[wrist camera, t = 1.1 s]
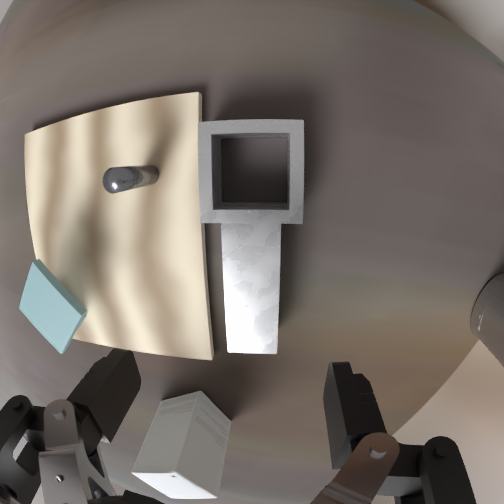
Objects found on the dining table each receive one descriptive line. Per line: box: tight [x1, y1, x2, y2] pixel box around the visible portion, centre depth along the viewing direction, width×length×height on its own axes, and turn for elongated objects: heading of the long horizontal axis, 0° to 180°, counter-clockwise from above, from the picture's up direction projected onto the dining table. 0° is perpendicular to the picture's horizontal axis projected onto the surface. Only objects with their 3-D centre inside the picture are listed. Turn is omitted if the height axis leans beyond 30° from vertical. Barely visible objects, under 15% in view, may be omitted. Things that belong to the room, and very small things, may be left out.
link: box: [198, 119, 304, 354], centre depth 23 cm, size 19×8×4 cm, turn 0°
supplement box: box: [131, 391, 231, 499], centre depth 27 cm, size 7×7×13 cm
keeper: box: [19, 259, 87, 354], centre depth 25 cm, size 9×7×7 cm
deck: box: [25, 92, 214, 360], centre depth 26 cm, size 22×26×1 cm
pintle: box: [103, 165, 159, 194], centre depth 20 cm, size 2×2×8 cm
